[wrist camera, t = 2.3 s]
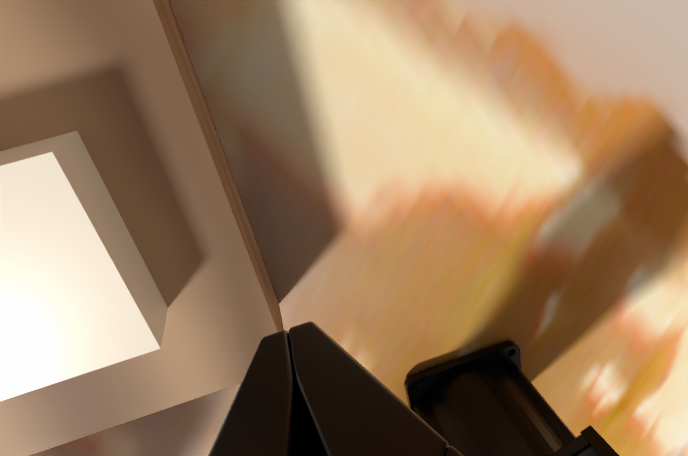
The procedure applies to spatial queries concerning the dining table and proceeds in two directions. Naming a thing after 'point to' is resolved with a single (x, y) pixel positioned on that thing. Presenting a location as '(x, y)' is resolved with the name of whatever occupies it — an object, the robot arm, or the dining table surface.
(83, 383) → the brown wooden block
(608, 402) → the dining table surface
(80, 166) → the thick cream rectangular block
